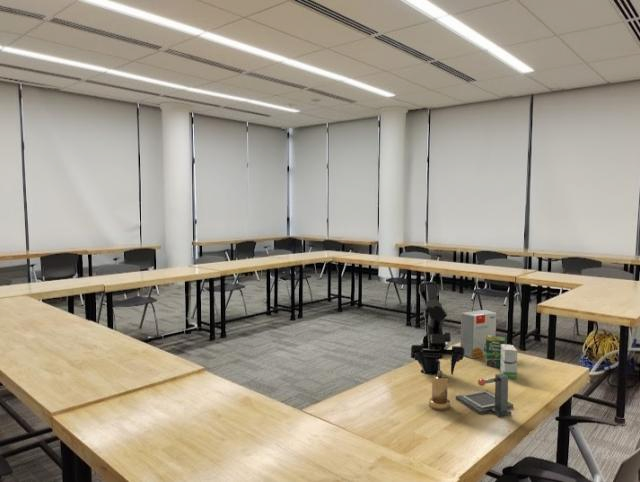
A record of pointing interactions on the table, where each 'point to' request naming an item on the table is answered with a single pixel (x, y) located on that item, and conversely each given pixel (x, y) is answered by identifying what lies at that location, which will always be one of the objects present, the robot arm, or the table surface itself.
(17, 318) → the table surface
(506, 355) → the ink box
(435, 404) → the amber cylindrical piece
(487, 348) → the coffee box
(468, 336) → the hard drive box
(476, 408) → the press bed
